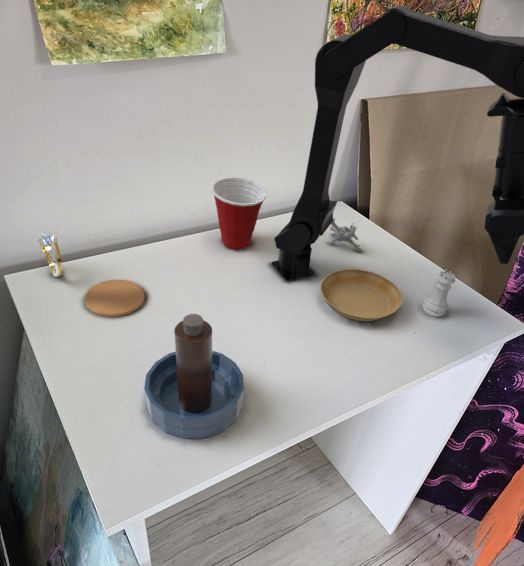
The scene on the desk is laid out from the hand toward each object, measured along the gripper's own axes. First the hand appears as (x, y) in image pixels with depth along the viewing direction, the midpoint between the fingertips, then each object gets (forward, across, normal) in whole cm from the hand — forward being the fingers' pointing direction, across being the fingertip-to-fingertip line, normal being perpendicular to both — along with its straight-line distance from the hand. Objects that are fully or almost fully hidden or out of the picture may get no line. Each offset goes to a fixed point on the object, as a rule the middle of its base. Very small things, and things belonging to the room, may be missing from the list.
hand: (506, 249), depth 77 cm
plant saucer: (+10, -4, +23) cm, 26 cm away
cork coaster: (0, -25, +60) cm, 65 cm away
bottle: (+6, -39, +36) cm, 54 cm away
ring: (-3, -24, +73) cm, 77 cm away
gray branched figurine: (+8, +14, +33) cm, 36 cm away
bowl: (+6, -39, +37) cm, 54 cm away
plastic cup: (+3, +4, +51) cm, 51 cm away
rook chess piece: (+13, +1, +11) cm, 17 cm away
